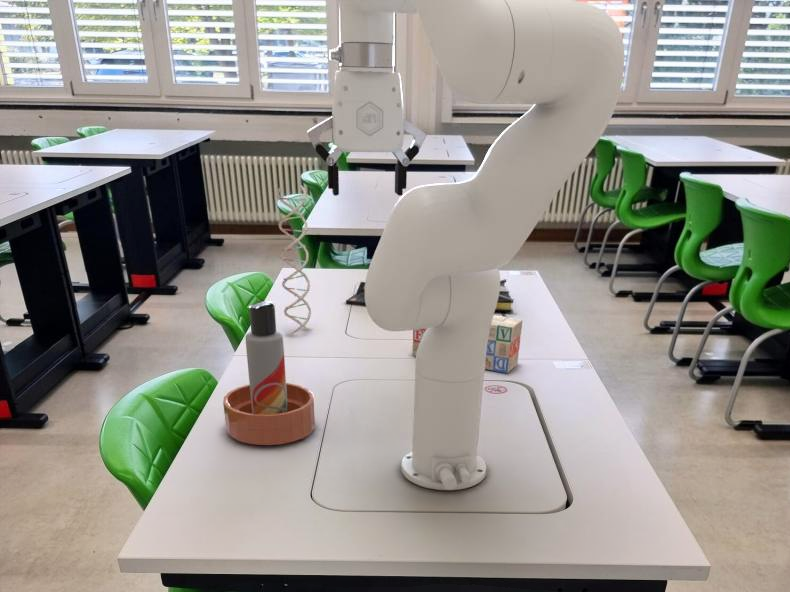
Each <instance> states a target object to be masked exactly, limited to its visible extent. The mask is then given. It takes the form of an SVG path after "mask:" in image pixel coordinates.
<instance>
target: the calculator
mask: <svg viewBox="0 0 790 592" xmlns="http://www.w3.org/2000/svg"><path fill="white" fill-rule="evenodd" d="M365 282H366V281H360V283H359V286H358V288H357V290H356V292H355V294H353V295H351V297H349V298H347V299H346V300H345V304H346V305H352V306H361V307H366V304H365Z"/></svg>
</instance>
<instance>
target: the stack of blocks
mask: <svg viewBox="0 0 790 592" xmlns="http://www.w3.org/2000/svg"><path fill="white" fill-rule="evenodd" d="M522 329H523V319H522V318H521V319H520V318H514V317H508V316H503V315H502V316H501V315H495V314H494V315H493V319H492V323H491V327H490V332H489V337H488V343H487V351H486V361H485V370H489V371H494V372H499V373H505V374H508V373H510V371H512V370H513V369H514V368H516V366H518V363H519V352H520V345H521V335H522ZM426 330H427V328H423V329H416V330H412V356H414V357H416V354H417V350H418V347H419V344H420V341H421V339H422V337H423V335H424V333H425V331H426Z"/></svg>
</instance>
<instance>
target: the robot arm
mask: <svg viewBox="0 0 790 592" xmlns="http://www.w3.org/2000/svg"><path fill="white" fill-rule="evenodd" d="M338 12H339V13H338V15H339V16H338V17H339V19H338V20H339V21H338V22H339V43H338V45H337V47H334V48H329V51H328V52H329V55H328V56H329V61H334V62H337V63H338V64H339V67H340V68H339V70H335V74H334V80H333V90H332V91H333V94H332V105H331V106H332V107H331V116H330V117H328V118H326V119H325V120H323V121H322V122H320V123H318V124H316V125H315V126H313V127H311V128H310V129H308V130H307V133H306V134H307V137H308V139H309V140H310V143H311V144H312V146H313V148H314V151H315V152H316V153H317V154H318V156H319V157H320V158H321V159H322V160H323V161H324V163H326V164H327V165H326V166H327V188H328V189H329V190H332V194H333V196H334V197H335V196H339V195H340V180H339V179H340V178H339V175H340V173H339V172H340V171H339V166H338V164H337V161H338V159H339V158H340V157H341V155H342V154H343V152H345V153H392V155H393V156H394V157H395V159H396V161H397V162H396V164H395V165H394V193H395V194H396V195H397V196H401V197H399V199H398V200H397V202H396V203H395V205H394V207H393V208H392V210H391V212H390V214H389V216H388V219H387V221H386V224H385V226H384V229H383V231H382V234H381V236H380V239H379V241H378V244H377V246H376V249H375V250H374V253H373V256H372V258H371V261H370V264H369V267H368V269H367V273H366V277H365V281H364V282H365V304H366V306H365V308H366V311H367V313H368V316H369V317H370V319H371V321H372V322H373V323H374V324H375V325H376V326H377V327H379V328H380V329H382V330H385V331H389V332H407V331H413V330H416V329H423V328H427V330H426V331H425V333H424V335H423V337H422V339H421V341H420V344H419V347H418V350H417V354H416V356H415V364H414V368H415V369H414V391H413V392H414V393H413V416H412V417H413V421H412V448H411V449H412V450H411V451H410V452H408V453H407V454H406V455H405V456H404V457H402V460H401V467H400V468H401V473H402V475H403V476H404V477H405V479H406V480H408V481H409V482H411V483H412V484H415V485H416V486H419V487H422V488H425V489H431V490H434V491H435V490H437V491H458V490H463V489H465V490H466V489H468V488H472V487H474V486H476V485H478V484H479V483H481V482H482V481H483V480H484V479H485V477H486V475H487V464H486V462H485V460H484V459H483V458H482V457H481V456H480V455H479V454H478V448H479V438H480V437H479V436H480V425H481V413H482V404H483V403H482V402H483V391H484V381H485V380H484V379H485V370H486V369H485V361H486V351H487V343H488V337H489V332H490V327H491V323H492V319H493V315H495V312H496V311H495V309H496V305H497V301H498V297H499V291H500V281H501V275H500V274H501V273H500V270H499V269H500V268H502V267H504V266H505V265H507V264H509V263H510V261H512V259H514V257H515V256H516V255H517V254H518V252H519V251H520V250H521V248H522V247H523V245H524V244H525V242H526V241H527V239H528V238H529V236H530V235H531V233H532V232H533V230H534V229H535V227H536V226H537V224H538V223H539V222H540V220H541V218H542V217H543V215H544V214H545V213H546V211H547V210H548V208H549V207H550V205H551V204H552V202H553V200H554V199H555V197H556V195H557V194H558V192H560V190H561V189H562V187H563V186H564V185H565V183H566V182H567V180H568V179H569V178H570V177H571V176H572V175H573V174H574V173H575V171H576V170H577V169H578V168H579V166H580V165H582V163H583V161H584V160H585V159H586V158H587V156H588V155H589V154H590V153H591V152H592V150H593V149H594V148H595V146H596V144H597V143H598V142H599V140H600V139H601V137H602V136H603V134H604V132H605V131H606V129H607V127H608V125H609V123H610V121H611V119H612V116H613V114H614V113H615V109H616V106H617V103H618V101H619V97H620V93H621V89H622V83H623V79H624V73H625V72H624V70H625V45H624V40H623V35H622V33H621V30H620V28H619V26H618V24H617V23H616V21H615V19H613V17H612V16H611V15H610V14H608V13H607V12H606V11H605V10H604V9H602V8H600V7H598V6H595V5H593V4H590V3H587V2H584V1H583V2H582V1H578V0H338ZM396 14H410V15H411V14H412V15H418V18H419V20H420V22H421V25H422V28H423V30H424V33H425V35H426V38H427V41H428V43H429V46H430V48H431V51H432V53H433V56H434V59H435V62H436V64H437V67H438V70H439V72H440V74H441V77H442V78H443V80H444V82H445V84H446V86H447V87H448V89H449V90H450V92H451V93H453V95H454V96H456V97H457V98H458V99H460V100H462V101H465V102H468V103H471V104H477V105H533V106H532V107H530V109H529V110H528V111H527V112H525V113H524V114H523V115H522V116H520V118H518V119H517V120H515V121H514V122H513V123H512V124H511V125H509V126H508V127H507V128H506V129H505V130H503V131H502V133H501V134H499V136H498V137H497V138H496V139H495V141H494V142H493V144H491V146H490V148H489V149H488V151H487V152H486V154H485V157H484V159H483V161H482V163H481V165H480V166H479V168H478V170H477V171H476V172H475V173H474V175H473V176H472V177H471V178H469V179H467V180H464V181H461V182H460V181H459V182H453V183H431V184H423V185H419V186H416V187H413V188H411V189H409V190H408V191H406V192H405V193H404V194H403V191H404V190H407V182H408V181H407V179H408V177H407V176H408V175H407V174H408V166H409V165H410V163H411V162H412V161H413V159H415V157H416V156H417V155H418V154H419V152H420V150H421V147H423V144H424V141H425V139H426V137H427V133H426V132H425V131H423V130H422V129H421V128H419V127H418V126H416V125H414V124H413V123H411V122H410V121H408V120H406V119H405V118H404V101H403V100H404V99H403V88H402V80H401V74H400V72H395V71H394V70H395V21H396V20H395V15H396ZM330 130H331V137H332V138H331V139H332V140H331V141H332V144H333V146H332V147H331V149H330V150H329V151H328V150H327V148H325V147H324V146H323V143H322V142H321V139H320V137H321V136H322V135H323V134H325V133H326V132H328V131H330ZM405 132H406V133H408V134H409V135H411V136H412V137H413V140H412V142H411V145H409V147H408V148H407V149H406V150H405V151H404V150H403V146H404V140H405V139H404V135H405Z"/></svg>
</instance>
